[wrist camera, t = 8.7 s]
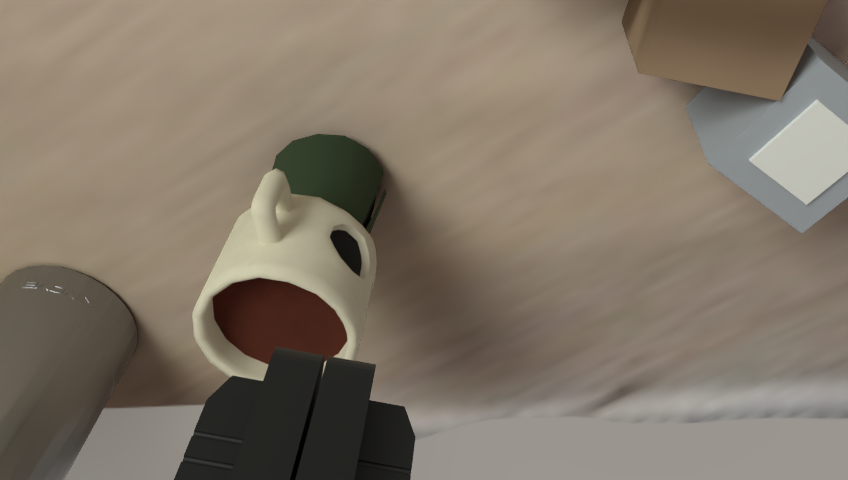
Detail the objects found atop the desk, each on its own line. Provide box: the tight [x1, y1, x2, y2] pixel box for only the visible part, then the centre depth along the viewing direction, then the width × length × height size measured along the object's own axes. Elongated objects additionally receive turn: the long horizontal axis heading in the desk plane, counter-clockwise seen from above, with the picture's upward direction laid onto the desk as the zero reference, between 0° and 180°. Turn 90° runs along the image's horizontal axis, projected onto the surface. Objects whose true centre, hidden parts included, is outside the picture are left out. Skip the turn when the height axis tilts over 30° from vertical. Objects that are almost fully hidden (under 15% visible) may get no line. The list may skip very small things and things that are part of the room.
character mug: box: [192, 134, 386, 381], centre depth 39 cm, size 11×7×13 cm, turn 6°
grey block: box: [685, 37, 848, 233], centre depth 37 cm, size 6×6×6 cm
